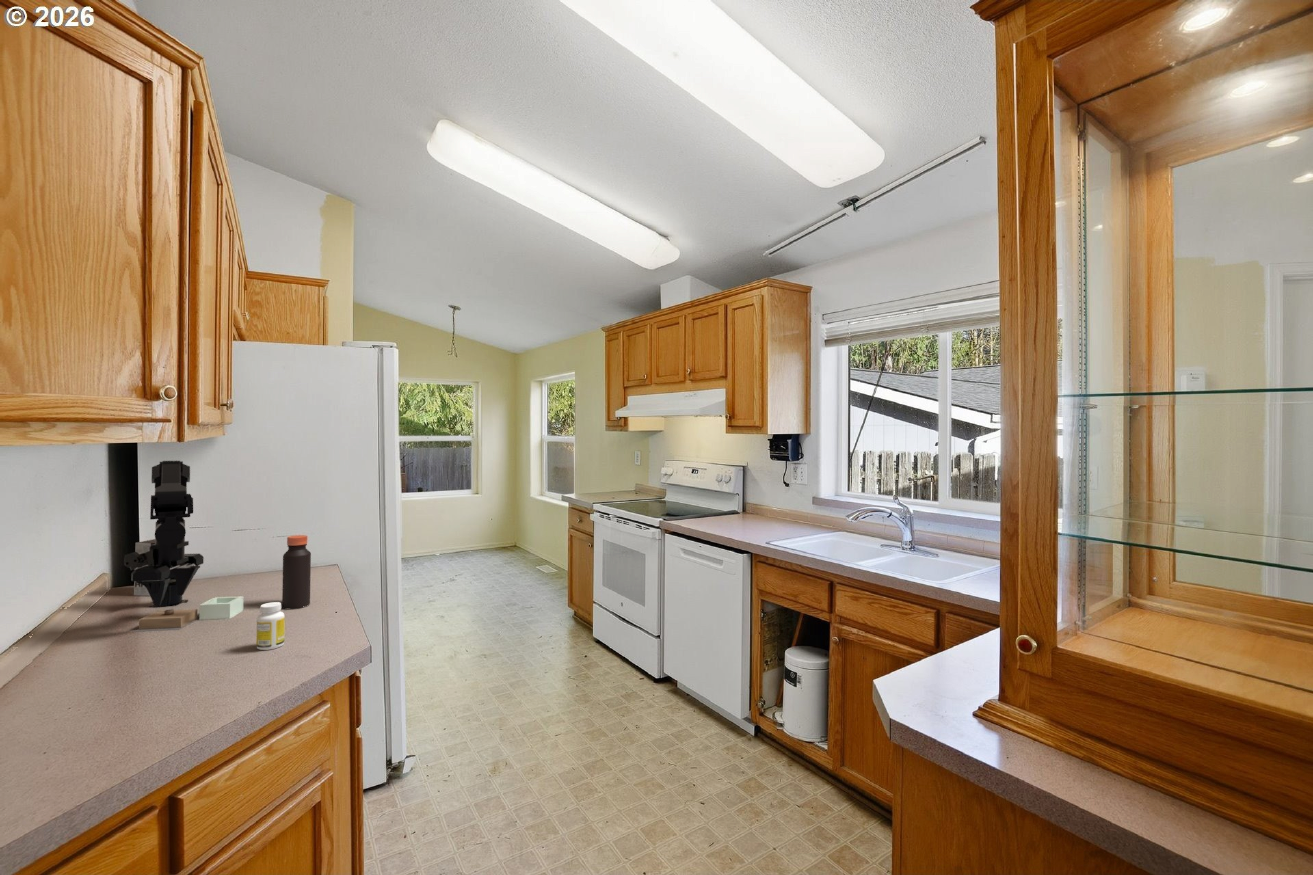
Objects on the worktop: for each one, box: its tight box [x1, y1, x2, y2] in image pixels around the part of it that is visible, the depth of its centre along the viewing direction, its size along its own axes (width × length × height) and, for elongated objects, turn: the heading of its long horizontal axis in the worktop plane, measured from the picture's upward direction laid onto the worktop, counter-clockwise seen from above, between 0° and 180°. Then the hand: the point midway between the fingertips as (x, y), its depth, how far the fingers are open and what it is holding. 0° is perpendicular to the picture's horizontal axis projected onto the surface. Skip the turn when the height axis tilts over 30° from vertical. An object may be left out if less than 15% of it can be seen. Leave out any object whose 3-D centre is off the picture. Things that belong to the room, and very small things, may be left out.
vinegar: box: [281, 534, 312, 609], centre depth 163 cm, size 7×7×20 cm
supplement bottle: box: [256, 601, 286, 651], centre depth 132 cm, size 5×5×10 cm
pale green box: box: [198, 595, 244, 621], centre depth 152 cm, size 7×7×4 cm
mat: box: [132, 616, 199, 633], centre depth 144 cm, size 10×10×1 cm
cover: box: [138, 608, 198, 630], centre depth 144 cm, size 7×9×4 cm
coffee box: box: [133, 538, 155, 597], centre depth 174 cm, size 9×6×16 cm
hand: (169, 600), depth 144 cm, fingers open, 9 cm apart
